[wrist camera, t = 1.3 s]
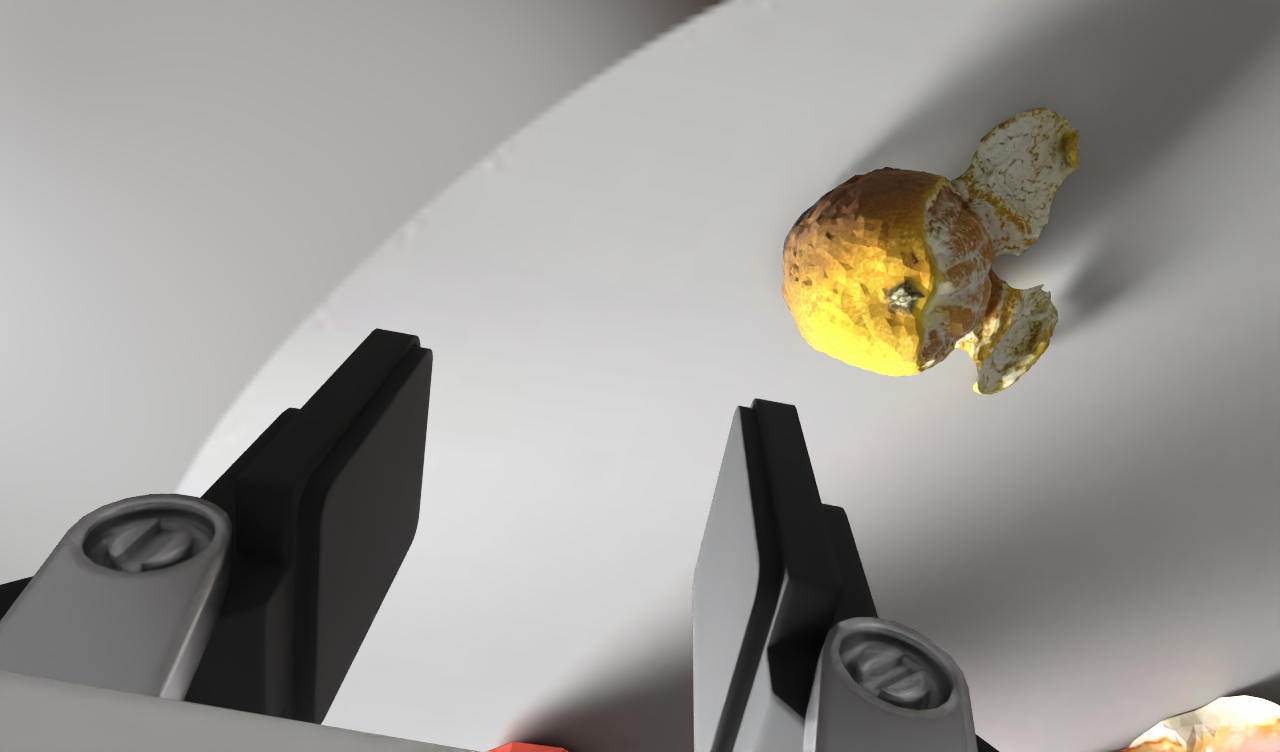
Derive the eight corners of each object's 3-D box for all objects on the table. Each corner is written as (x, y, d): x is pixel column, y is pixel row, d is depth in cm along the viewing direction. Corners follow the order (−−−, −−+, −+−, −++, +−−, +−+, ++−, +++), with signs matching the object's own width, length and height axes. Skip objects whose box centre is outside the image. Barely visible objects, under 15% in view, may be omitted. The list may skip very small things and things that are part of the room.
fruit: (1048, 377, 27) (1100, 430, 24) (781, 392, 28) (794, 447, 24) (1079, 102, 24) (1143, 120, 20) (775, 127, 24) (789, 148, 21)
